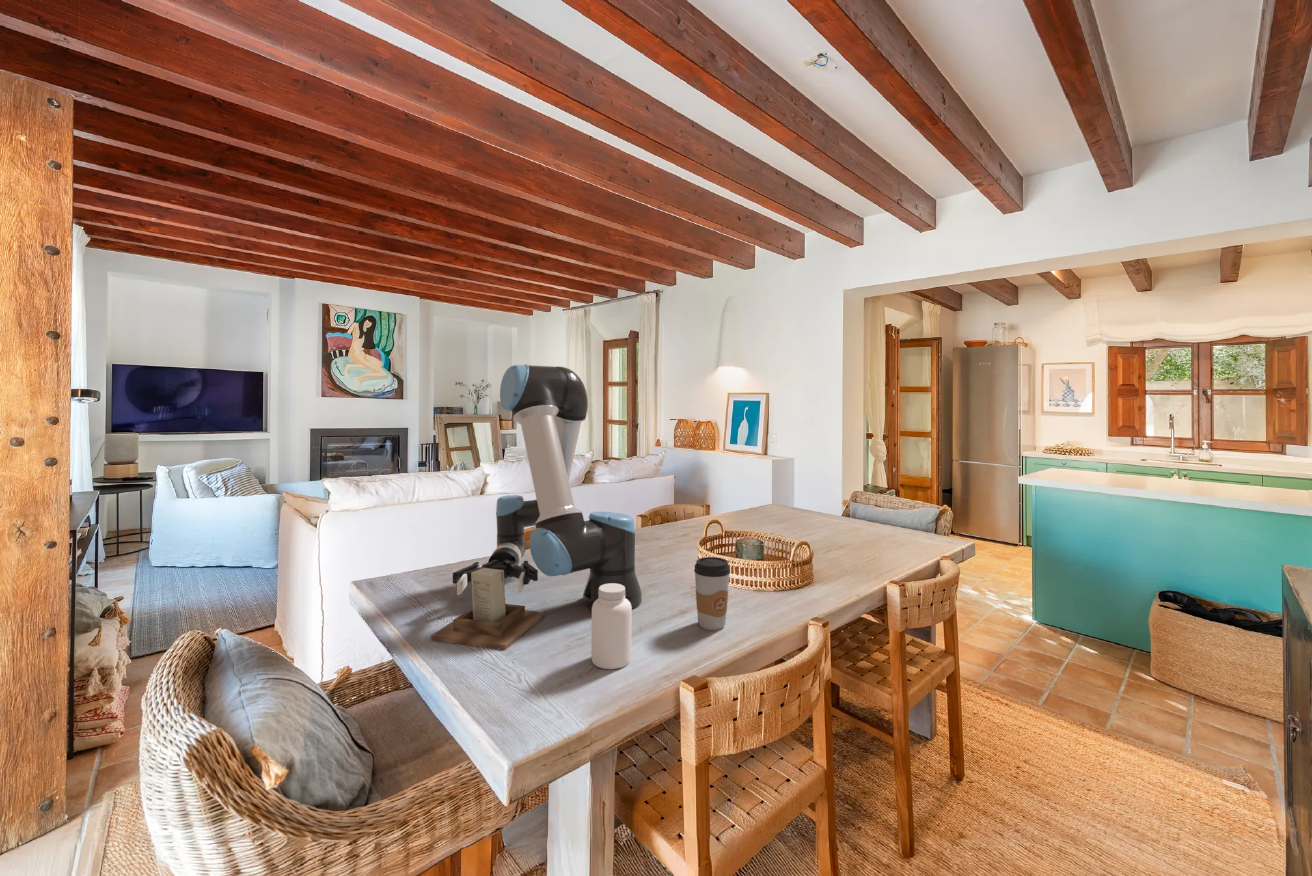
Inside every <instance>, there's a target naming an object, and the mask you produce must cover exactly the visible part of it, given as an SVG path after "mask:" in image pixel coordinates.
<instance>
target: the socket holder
mask: <svg viewBox="0 0 1312 876" xmlns="http://www.w3.org/2000/svg"><path fill="white" fill-rule="evenodd" d="M505 610H506V616H505V617H504V618H503V619H501V620H500V621H499V622H488V621H479V620H473V607H471V608H469V609H468V610H467V611H465V612H464V613H462V614H460V615H459V616H457V617H456V618H454V619H453V620H452V621H451V622H450V623H448V624H446V625H445V626H444V627H442V628H441V629H439V630H438V631H435V632H434V633H433V634H431V635H430V640H431V641H432V642H433V641H434V642H441V643H450V644H458V645H459V644H460V645H466V646H474V647H480V646H481V647H480V648H488V647H489V649H490V648H491V649H496V648H500V649H499V650H504V649H505V650H507V649H508V648H509V647H510V646H511V644H512V645H513V644H514V643H515V642H516V641H517V640H519V639H520V638H521V637H523V635H524V634H525V633H527V632H528V631H529V630H530V629H532V627H533V626H534V624H535V625H536V624H537V623H538V622H539V621H540V620H542V619H543V618H544V617H545V611H537V610H526V606H525V605H521V604H519V605H518V604H509V603H505ZM526 631H527V632H526Z"/></svg>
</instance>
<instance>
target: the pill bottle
mask: <svg viewBox="0 0 1312 876" xmlns="http://www.w3.org/2000/svg"><path fill="white" fill-rule="evenodd" d="M598 595H599V599H597V600H596V601H595V602H594V603H593V606H592V610H591V651H590V652H591V662H592V663H593V665H594V666H596V667H597V668H600V669H604V670H615V669H616V670H617V669H621V668H624V667H626V666H627V665H629V664H630V662H631V659H632V626H633V624H632V616H633V615H632V613H633V612H632V611H633V609H632V606H631V603H630V602H629V601H628V600H627V599H626V598H625V587H624V586H623V585H621V584H616V583H609V584H604V585H601V586H600V587H599V589H598Z"/></svg>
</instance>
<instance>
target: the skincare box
mask: <svg viewBox="0 0 1312 876" xmlns="http://www.w3.org/2000/svg"><path fill="white" fill-rule="evenodd" d="M471 580H472V581H471V598H472V599H471V600H472V608H473V620H479V621H488V622H499V621H500V620H501V619H503V618H504V617H505V616H506V610H505V604H506V595H505V594H506V592H505V591H506V590H505V578H504V570H498V569H490V568H482V569H479V570H477V571H474V572H471Z"/></svg>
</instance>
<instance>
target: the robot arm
mask: <svg viewBox="0 0 1312 876" xmlns="http://www.w3.org/2000/svg"><path fill="white" fill-rule="evenodd" d="M499 388H500V390H499V399H500V405H501V407H502V408H503V410H505V411H508V412H511V413H512V418H513V420H514V422H515V423H517V424H519V425H520V427H521V431H522V435H523V441H524V446H525V450H526V451H525V452H526V455H527V460H528V465H529V470H530V473H531V479H532V485H533V488H534V494H535V499H532V500H524V497H523V496H522V495H517V494H511V495H502V496H500V497H498V498H497V500H496V510H495V516H496V517H495V518H496V548H495V549H494V551H493V552H492V554H491V556H490V557H489V558H488V562H486V563H483V564H480V562H479V561H475V562H473V563H472V564H471V565H469V566H466V567H464V568H461V569H459V570H457V571H455V572H452V584H453V585H455V587H456V595H457V596H459V595H462V593H463V592H464V590H465V589H466V587H467V586H468V584H469V583H472V580H471V572H474V571H477V570H479V569H482V568H490V569H498V570H504V579H507V578H515V579H517V592H518V593H522V592H523V589H524V586H525V585H529V584H530V582H531V580H532V581H533V582H538V581H539V575H538V573H539V572H538V571H540V572H541V573H542V574H543V575H546V576H548V577H557V576H566V575H569V574H572V573H576V572H580V571H581V572H582V571H585V570H588V569H589V575H588V577H587V579H586V580H587V581H586V584H585V587H584V591H583V593H582V598H583V599H582V601H583V602H582V603H583V604H582V605H583V606H584V607H585V608H587V609H589V610H591V611H592V606H593V603H594V602H595V601H596V600H597V599H599V595H598V589H599V587H600V586H601V585H604V584H609V583H616V584H621V585H623V586H624V587H625V598H626V599H627V600H628V601H629V602H630V603H631V606H632V610H634V609H635V608H637V607H639V606H640V605H641V604H642V598H643V597H642V596H643V595H642V590H641V586H640V583H639V581H638V577H637V575H636V566H635V565H636V553H635V551H636V547H635V546H636V527H635V525H636V524H635V519H634V518H633V517H632V516H631V515H629V514H624V513H619V512H612V511H592V512H590V513H589V516H588V519H589V520H585V519H584V514H583V511H581V510H579V509H578V508H576V507H575V504H574V498H573V494H572V490H571V489H572V488H571V486H570V485H571V484H570V481H569V480H570V476H571V471H572V467H573V462H574V457H575V453H576V448H577V444H578V443H577V442H578V439H579V433H580V429H581V423H583V422H585V420H586V417H587V413H588V409H589V407H588V406H589V405H588V404H589V402H588V401H589V400H588V399H589V398H588V393H587V390H586V387H585V384H584V383H583V381H582V379H581V378H580V376H579V375H578V374H576V372H574V371H573V370H572V369H570V368H568V367H564V366H551V365H550V366H549V365H528V364H514V365H511V366H509V367H508V368H507V369H506V370H505V372H504V374H503V376H502V379H501V382H500V387H499ZM534 526H535V529H534V530H533V531H532V532H531V533H530V536H529V548H530V549H529V551H530V554H531V557H532V559H533V563H534V564H535V566H536V567H537V569H536V568H535V567H534V566H532V565H531V564H530V563H529V561H528V560H523V562H521V560H522V558H523V557H524V555H525V553H526V548H527V547H526V546H527V542H526V541H525V528H530V527H534ZM520 562H521V563H520Z"/></svg>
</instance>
